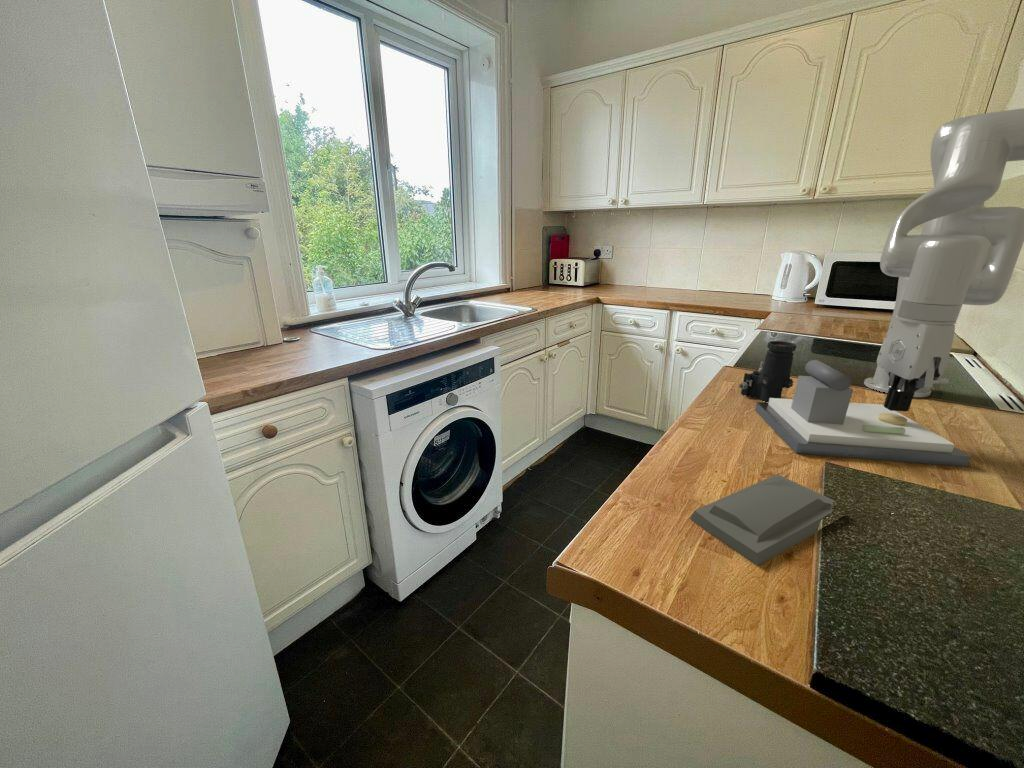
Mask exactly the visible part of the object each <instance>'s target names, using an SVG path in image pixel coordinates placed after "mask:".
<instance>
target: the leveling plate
mask: <svg viewBox="0 0 1024 768" xmlns="http://www.w3.org/2000/svg"><path fill="white" fill-rule="evenodd" d="M804 370H805V372H806V373H807V374H809V375H798V377H797V382H796V386H795V390H794V394H793V398H769V403H768V404H769V405H770V406H771V407H772V408H773V409H774V410H775V411H776V412H777V413H778V414H779V415H780V416H781V417H782V418H783V419H784V420H785V421H787V422H788V423H789V424H790V425H791V426H792V427H793V428H794V429H795V430H796V431H797V432H798V433H799V434H800V435H801V436H802V437H803V438H805V439H806V440H807V441H808V442H819V443H832V444H845V445H859V446H872V447H885V448H899V449H912V450H925V451H939V452H952V451H953V448H954V447H955V446H956V445H955V444H954V443H953V442H951V441H949V440H948V439H946V438H944V437H942V436H941V435H940V434H937V433H935V432H933V431H932V430H930V429H928V428H927V427H924V426H923V425H921V424H919V423H918V422H916V421H914V420H913V419H911V418H909V417H907V416H905V415H904V414H902V413H900V412H899V411H890V410H889V409H887V408H885V407H884V404H881V403H879V404H876V403H863V402H862V403H861V402H851V399H852V395H853V391H854V389H853V388H852V387H851V384H852V379H851V377H850V376H848V375H846V374H844V373H842V372H840V371H839V370H838V369H835V368H833V367H831V366H829V365H828V364H826V363H824V362H822V361H820V360H817V359H811V360H809V361H808V362H807V363H806V364H805V367H804Z"/></svg>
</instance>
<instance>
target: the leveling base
mask: <svg viewBox="0 0 1024 768" xmlns="http://www.w3.org/2000/svg"><path fill="white" fill-rule="evenodd" d="M754 411H755V412H756V413H757V415H759V417H760V418H762V420H763V421H764V422H766V424H767V425H768V426H769V427H770V428H771V429H772V430H773V431H774V432H775V433H776V434H777V435H778V436H779V438H781V440H782V441H783V442H784V443H785V444H786V445H787V446H788V447H789V448H790V449H791V450H792V451H793V452H794V453H795V454H798V455H813V456H815V455H816V456H824V457H836V458H837V457H839V458H849V459H861V460H863V459H864V460H874V461H875V460H876V461H890V462H898V463H900V462H901V463H912V464H913V463H914V464H926V465H937V466H950V467H961V468H962V467H963V468H967V466H968V464H969V461H970V459H971V455H969V454H967V453H966V452H964V451H963V450H960V449H959V448H956V447H955V446H954V448H953V451H952V452H939V451H925V450H912V449H899V448H885V447H872V446H859V445H845V444H832V443H819V442H808V441H807V440H806V439H805V438H803V437H802V436H801V435H800V434H799V433H798V432H797V431H796V430H795V429H794V428H793V427H792V426H791V425H790V424H789V423H788V422H787V421H785V420H784V419H783V418H782V417H781V416H780V415H779V414H778V413H777V412H776V411H775V410H774V409H773V408H772V407H771V406H770V405H769V404H768V403H766V402H763V401H756V404H755V408H754Z"/></svg>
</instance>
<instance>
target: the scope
mask: <svg viewBox="0 0 1024 768" xmlns="http://www.w3.org/2000/svg"><path fill="white" fill-rule="evenodd" d="M767 349H768V350H767V351H766V354H765V357H764V361H760V365H759V368H758V370H754V371H753V370H752V373H748V372H745V373H744V374H743V375H744V376H743V381H742V382H740V383H739V384H738V388H739V389H740V390H741V391H740V395H741V394H742V396H744V395H746V396H745V397H750V396H753V397H752V398H754V397H755V398H754V399H756V398H758V399H757V400H759V399H761V400H762V401H761V400H760V401H761V402H763V401H765V402H769V398H780V399H782V394H783V389H784V388H785V389H790V388H791V387H793V385H794V380H793V378H791V371H792V364H793V360H794V352H795V351H796V349H797V344H795V343H792V342H788V341H783V340H782V341H781V340H773V341H768V343H767ZM748 395H750V396H748Z"/></svg>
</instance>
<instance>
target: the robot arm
mask: <svg viewBox="0 0 1024 768" xmlns="http://www.w3.org/2000/svg"><path fill="white" fill-rule="evenodd" d="M929 157H930V166H931V167H930V168H931V173H932V177H933V178H932V179H933V188H932V189H930V190H929V191H927V192H925V194H922V195H920V196H918V198H916V199H915V200H914V201H912V202H911V203H909V205H907V207H905V208H904V209H903V210H902V211H901V212H900V213H899V214H898V215H897V217H896V218H895V220H894V221H893V223H892V224H891V227H890V230H889V231H888V235H887V237H886V240H885V244H884V247H883V249H882V252H881V256H880V259H879V260H880V262H879V267H880V270H881V272H882V273H883V274H885V275H886V276H889V277H892V278H898V282H897V291H896V299H895V304H894V309H893V311H892V315H891V320H890V322H889V327H888V330H887V331H886V334H885V336H884V338H883V342H882V344H881V346H880V350H879V352H878V355H877V358H876V364H877V366H876V369H875V373H874V375H873V377H872V376H871V377H867V378H865V379H864V382H863V385H865V387H867V388H869V389H870V390H873V389H874V391H876V390H877V392H879V391H880V393H883V392H885V393H884V394H887V393H888V394H887V395H886V397H885V400H884V403H883V405H884V407H885V408H887V409H889V410H890V411H897V412H908V411H909V409H910V408H911V405H912V403H913V402H912V401H913V398H927V397H929V396H930V395H931V393H932V390H931V389H932V388H933V386H937V387H940V386H941V387H947V386H948V385H950V384H949V383H950V380H949V379H948V378H943V377H942V376H943V374H944V371H945V369H946V367H947V364H948V361H949V358H950V354H951V350H952V346H953V343H954V339H955V329H956V324H957V321H958V318H959V317H960V312H961V310H962V306H963V305H966V306H967V305H969V306H989V305H993V304H995V303H997V302H999V301H1000V300H1001V299H1002V297H1003V296H1004V295H1005V293H1006V290H1007V289H1008V286H1009V284H1010V282H1011V277H1012V275H1013V273H1014V270H1015V267H1016V264H1017V261H1018V259H1019V256H1020V253H1021V251H1022V247H1023V245H1024V208H1022V207H1019V206H995V207H994V206H993V207H986V206H985V205H984V203H985V202H986V201H988V200H990V198H992V197H993V196H994V195H995V194H996V193H997V192H998V191H999V189H1000V186H1001V183H1002V181H1003V177H1004V176H1003V175H1004V173H1005V168H1006V165H1007V162H1017V161H1020V162H1021V161H1024V107H1023V108H1017V109H1007V110H1001V111H993V112H991V111H990V112H985V113H979V114H978V113H976V114H972V115H968V116H964V117H963V116H962V117H958V118H954V119H952V120H950V121H947V122H945V123H943V124H941V126H939V127H938V128H937V130H936V131H935V132H934V135H933V137H932V141H931V145H930V156H929ZM922 224H923V226H922V228H921V232H920V234H916V235H915V234H914V235H913V234H912V235H911V234H909V232H910V231H912V230H914V229H915V228H917V227H918V226H921V225H922ZM908 234H909V235H908Z"/></svg>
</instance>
